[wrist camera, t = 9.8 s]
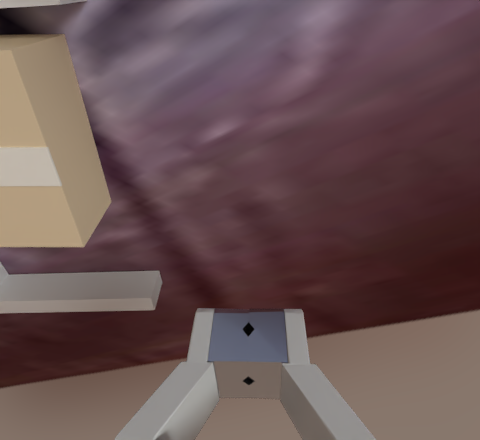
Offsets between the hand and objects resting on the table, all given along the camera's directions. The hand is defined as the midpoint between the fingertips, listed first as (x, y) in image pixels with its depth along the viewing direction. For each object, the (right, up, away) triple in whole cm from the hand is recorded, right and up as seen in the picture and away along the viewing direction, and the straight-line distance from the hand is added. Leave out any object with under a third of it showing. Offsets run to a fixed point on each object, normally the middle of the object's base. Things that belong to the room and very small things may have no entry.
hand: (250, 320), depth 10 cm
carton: (-13, +8, +8) cm, 17 cm away
